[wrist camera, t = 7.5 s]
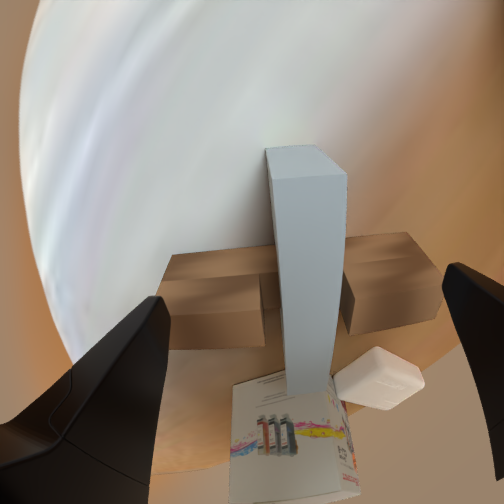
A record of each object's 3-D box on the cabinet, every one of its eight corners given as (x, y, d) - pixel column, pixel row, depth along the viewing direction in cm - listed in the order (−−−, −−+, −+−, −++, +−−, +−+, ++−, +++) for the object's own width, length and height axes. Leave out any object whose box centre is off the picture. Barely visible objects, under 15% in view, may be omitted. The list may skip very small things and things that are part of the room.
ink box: (345, 394, 25) (364, 496, 15) (271, 415, 27) (274, 511, 17) (320, 355, 21) (343, 495, 11) (229, 383, 23) (223, 506, 13)
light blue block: (315, 144, 12) (347, 174, 8) (314, 332, 19) (326, 390, 15) (265, 148, 13) (271, 179, 8) (282, 335, 20) (287, 395, 15)
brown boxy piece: (406, 231, 15) (448, 283, 11) (400, 264, 16) (435, 318, 12) (172, 254, 16) (147, 316, 12) (182, 286, 17) (164, 349, 13)
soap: (328, 374, 23) (334, 401, 21) (374, 340, 21) (385, 369, 18) (380, 391, 26) (386, 413, 23) (419, 364, 24) (428, 387, 21)
